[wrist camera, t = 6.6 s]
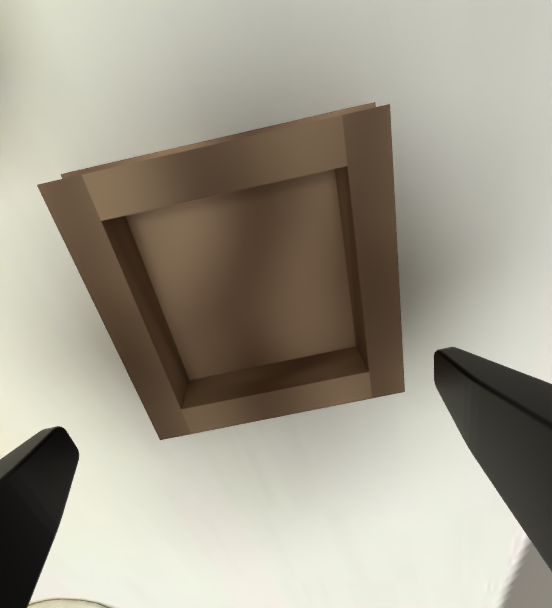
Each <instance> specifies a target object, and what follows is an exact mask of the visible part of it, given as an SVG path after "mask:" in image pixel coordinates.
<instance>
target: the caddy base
mask: <svg viewBox="0 0 552 608" xmlns="http://www.w3.org/2000/svg"><path fill="white" fill-rule="evenodd" d="M61 177H62V179H61V180H56V181H52V182H48V183H43V184H39V185H37V186H38V188H39V190H40V192H41V194H42V196H43V199H44V201H45V203H46V205H47V207H48V209H49V211H50V213H51V215H52V217H53V219H54V221H55V223H56V225H57V227H58V230H59V232H60V234H61V236H62V238H63V240H64V242H65V244H66V246H67V248H68V250H69V252H70V254H71V256H72V259H73V261H74V263H75V265H76V267H77V269H78V271H79V273H80V275H81V277H82V279H83V281H84V283H85V285H86V288H87V290H88V292H89V294H90V296H91V298H92V300H93V302H94V304H95V306H96V308H97V310H98V312H99V314H100V316H101V319H102V321H103V323H104V325H105V327H106V329H107V331H108V333H109V335H110V337H111V339H112V341H113V343H114V345H115V348H116V350H117V352H118V354H119V356H120V358H121V360H122V362H123V364H124V366H125V368H126V370H127V372H128V374H129V377H130V379H131V381H132V383H133V385H134V387H135V389H136V391H137V393H138V395H139V397H140V399H141V401H142V403H143V405H144V408H145V410H146V412H147V414H148V416H149V418H150V420H151V422H152V424H153V426H154V428H155V430H156V432H157V434H158V437H159V439H160V440H163V439H168V438H173V437H178V436H183V435H188V434H193V433H199V432H204V431H209V430H214V429H219V428H224V427H229V426H234V425H239V424H244V423H249V422H254V421H259V420H264V419H269V418H275V417H280V416H285V415H290V414H295V413H300V412H305V411H310V410H315V409H320V408H325V407H330V406H335V405H340V404H346V403H351V402H356V401H361V400H366V399H371V398H376V397H381V396H386V395H391V394H396V393H401V392H405V388H404V368H403V349H402V330H401V311H400V291H399V272H398V253H397V234H396V214H395V195H394V176H393V157H392V137H391V118H390V104H388V105H384V106H380V107H376V106H375V102H374V103H370V104H365V105H361V106H356V107H352V108H348V109H343V110H339V111H335V112H330V113H326V114H322V115H317V116H313V117H309V118H304V119H300V120H295V121H291V122H287V123H282V124H278V125H274V126H269V127H265V128H261V129H256V130H252V131H247V132H243V133H239V134H234V135H230V136H226V137H221V138H217V139H213V140H208V141H204V142H200V143H195V144H191V145H186V146H182V147H178V148H173V149H169V150H165V151H160V152H156V153H152V154H147V155H143V156H139V157H134V158H130V159H125V160H121V161H117V162H112V163H108V164H104V165H99V166H95V167H91V168H86V169H82V170H78V171H73V172H69V173H64V174H61Z"/></svg>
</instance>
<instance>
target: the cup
mask: <svg viewBox="0 0 552 608" xmlns="http://www.w3.org/2000/svg"><path fill="white" fill-rule="evenodd" d="M27 608H107V607H104V606H102V605H100V604H97V603H92V602H87V601H82V600H65V599H58V600H48V601H43V602H39V603H35V604H32V605H30V606H28V607H27Z"/></svg>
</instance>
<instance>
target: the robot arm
mask: <svg viewBox="0 0 552 608" xmlns="http://www.w3.org/2000/svg"><path fill="white" fill-rule="evenodd" d="M434 381H435V385H436V388H437V390H438V392H439V394H440V395H441V397H442V399H443V401H444V403H445V405H446V407H447V409H448V411H449V412H450V414H451V416H452V418H453V420H454V422H455V424H456V426H457V428H458V429H459V431H460V433H461V435H462V437H463V439H464V441H465V442H466V444H467V446H468V448H469V449H470V451H471V452H472V454H473V456H474V457H475V459H476V460H477V462H478V463H479V465H480V466H481V468H482V469H483V471H484V472H485V473H486V475H487V476H488V478H489V479H490V481H491V482H492V484H493V485H494V487H495V488H496V490H497V491H498V493H499V494H500V496H501V497H502V499H503V500H504V502H505V503H506V505H507V506H508V508H509V509H510V511H511V512H512V514H513V515H514V517H515V518H516V519H517V521H518V522H519V524H520V525H521V527H522V528H523V530H524V531H525V533H526V534H527V536H528V537H529V539H530V540H531V542H532V543H533V545H534V546H535V548H536V549H537V551H538V552H539V554H540V555H541V556H542V558H543V560H544V561H545V562H546V564H547V565H548V567H549V568H550V570H551V571H552V384H550V383H548V382H545V381H543V380H540V379H537V378H535V377H532V376H529V375H527V374H524V373H521V372H519V371H516V370H514V369H511V368H508V367H506V366H503V365H500V364H498V363H495V362H493V361H490V360H487V359H485V358H482V357H479V356H477V355H474V354H472V353H469V352H466V351H464V350H461V349H458V348H455V347H449V348H444V349H439V350H437V351H436V352H435V354H434ZM78 460H79V451H78V449H77V447H76V445H75V444H74V442H73V441H72V439H71V437H70V436H69V434H68V433H67V431H66V430H65V429H64V428H63V427H60V426H57V427H52V428H47V429H44V430H41V431H40V432H38V433H37V434H35V435H34V436H33V437H31V438H30V439H28V440H27V441H26V442H24V443H23V444H21V445H20V446H19V447H17V448H16V449H14V450H13V451H12V452H10V453H9V454H7V455H6V456H5V457H3V458H2V459H0V608H27V607H28V605H29V602H30V600H31V597H32V595H33V592H34V589H35V587H36V584H37V582H38V579H39V577H40V574H41V572H42V569H43V566H44V564H45V561H46V559H47V556H48V554H49V551H50V549H51V546H52V543H53V541H54V538H55V536H56V533H57V530H58V527H59V524H60V521H61V518H62V515H63V512H64V508H65V505H66V501H67V498H68V495H69V491H70V488H71V484H72V481H73V478H74V474H75V471H76V467H77V464H78Z"/></svg>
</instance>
